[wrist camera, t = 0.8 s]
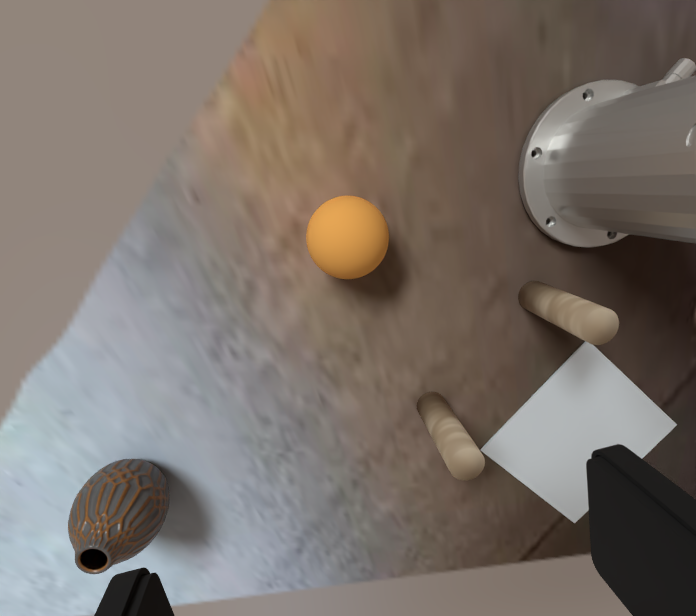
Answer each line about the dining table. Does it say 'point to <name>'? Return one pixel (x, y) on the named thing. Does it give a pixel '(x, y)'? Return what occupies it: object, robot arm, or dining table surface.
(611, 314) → the post
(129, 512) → the vase
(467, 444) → the post
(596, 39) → the dining table surface
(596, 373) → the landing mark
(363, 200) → the ball
